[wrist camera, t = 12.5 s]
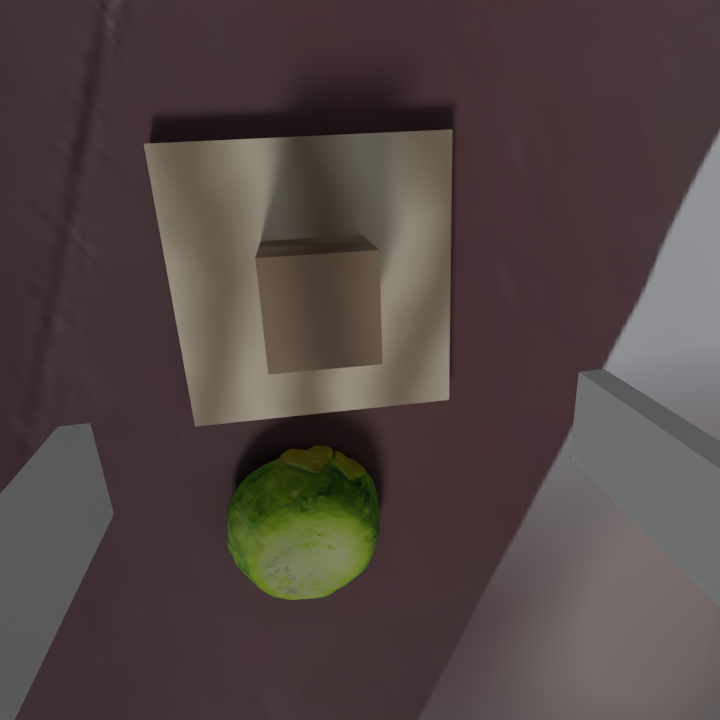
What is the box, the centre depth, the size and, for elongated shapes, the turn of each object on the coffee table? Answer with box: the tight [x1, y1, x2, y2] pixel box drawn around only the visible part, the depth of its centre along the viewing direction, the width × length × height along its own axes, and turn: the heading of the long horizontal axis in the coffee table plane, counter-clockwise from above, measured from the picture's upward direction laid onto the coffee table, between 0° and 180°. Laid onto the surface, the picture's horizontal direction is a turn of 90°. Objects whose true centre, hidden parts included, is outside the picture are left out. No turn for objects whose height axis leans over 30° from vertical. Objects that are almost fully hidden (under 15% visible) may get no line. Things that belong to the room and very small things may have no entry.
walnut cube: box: [255, 235, 383, 375], centre depth 29 cm, size 6×6×6 cm
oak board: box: [144, 129, 452, 426], centre depth 32 cm, size 17×17×1 cm
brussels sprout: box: [227, 445, 380, 600], centre depth 37 cm, size 12×11×5 cm
